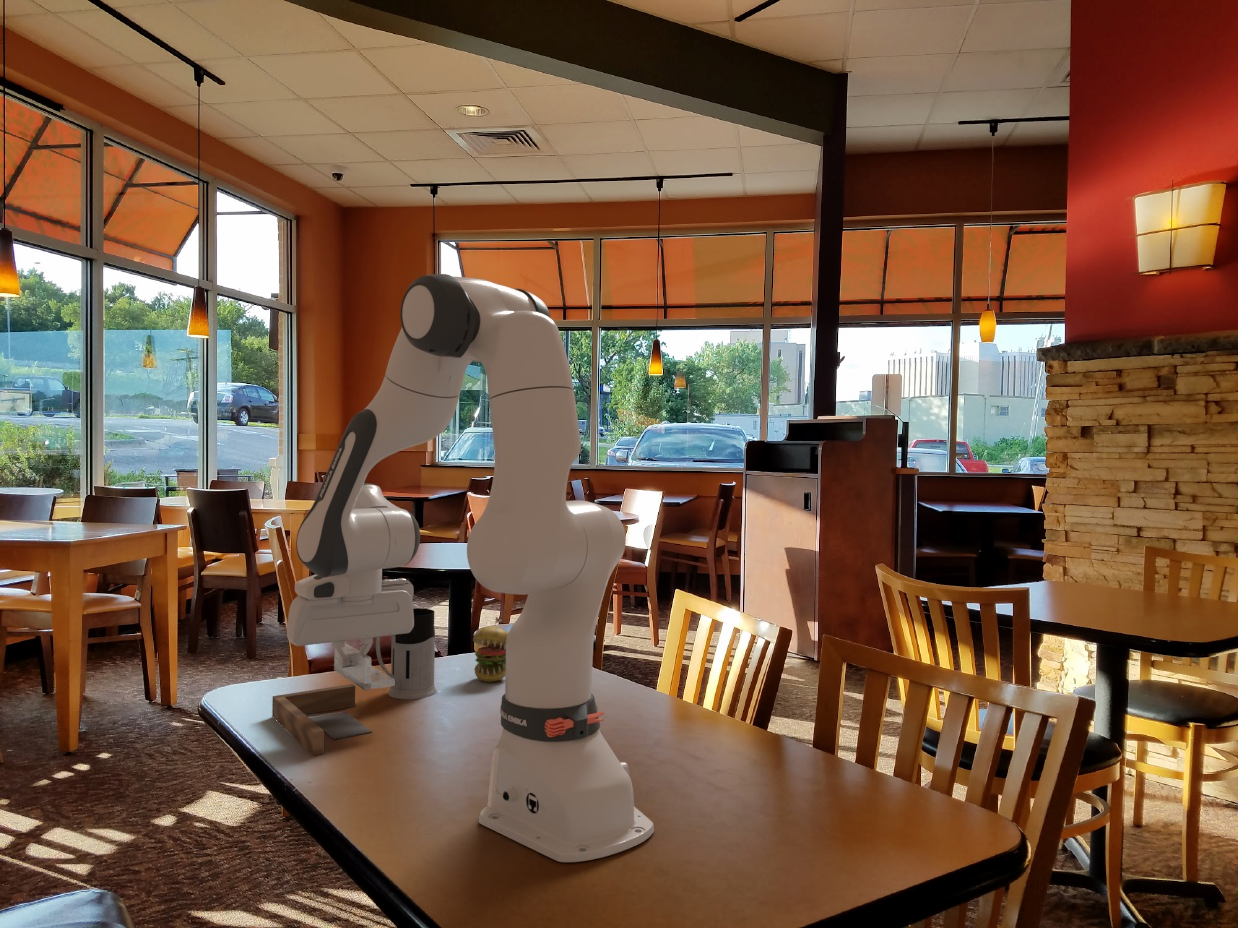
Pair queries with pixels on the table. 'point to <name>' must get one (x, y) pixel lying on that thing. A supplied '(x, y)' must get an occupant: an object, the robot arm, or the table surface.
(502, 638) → the hamburger
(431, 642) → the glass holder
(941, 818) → the table surface
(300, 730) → the brown wooden l-shaped piece
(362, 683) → the angle bracket
